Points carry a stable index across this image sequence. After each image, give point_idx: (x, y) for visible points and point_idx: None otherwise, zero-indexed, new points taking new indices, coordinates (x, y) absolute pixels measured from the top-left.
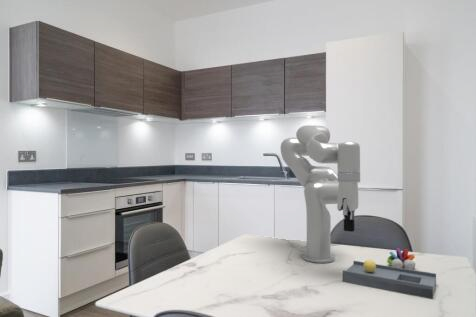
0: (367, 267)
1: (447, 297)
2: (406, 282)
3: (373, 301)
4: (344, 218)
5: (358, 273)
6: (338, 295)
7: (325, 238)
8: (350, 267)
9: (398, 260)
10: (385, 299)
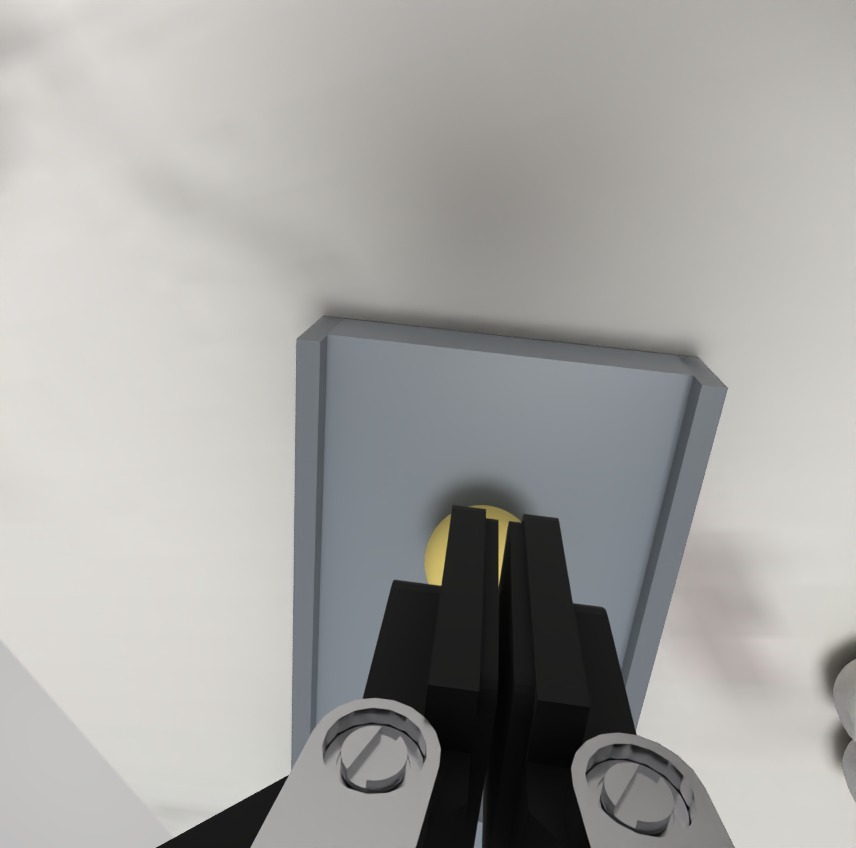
0: (426, 548)
1: None
2: (292, 759)
3: (73, 547)
4: (313, 747)
5: (297, 476)
6: (19, 342)
7: None
8: (549, 366)
9: None
10: (149, 604)
